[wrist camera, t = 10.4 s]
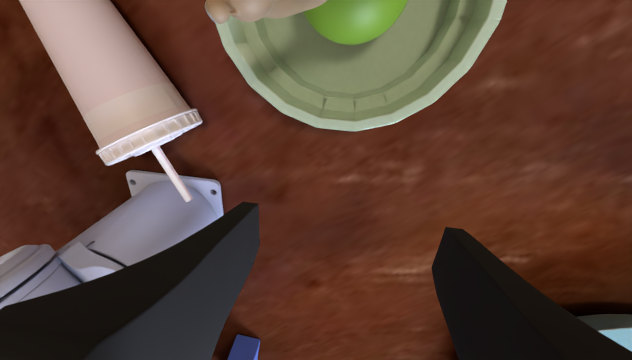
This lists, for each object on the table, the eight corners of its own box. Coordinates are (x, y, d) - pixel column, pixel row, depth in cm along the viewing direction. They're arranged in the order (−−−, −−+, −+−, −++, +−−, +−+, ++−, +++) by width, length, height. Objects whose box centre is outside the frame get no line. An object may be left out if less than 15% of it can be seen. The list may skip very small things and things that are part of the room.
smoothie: (-40, 11, 14) (129, 232, 18) (-5, -73, 11) (189, 217, 15) (88, 15, 19) (197, 186, 24) (137, -42, 16) (252, 167, 21)
